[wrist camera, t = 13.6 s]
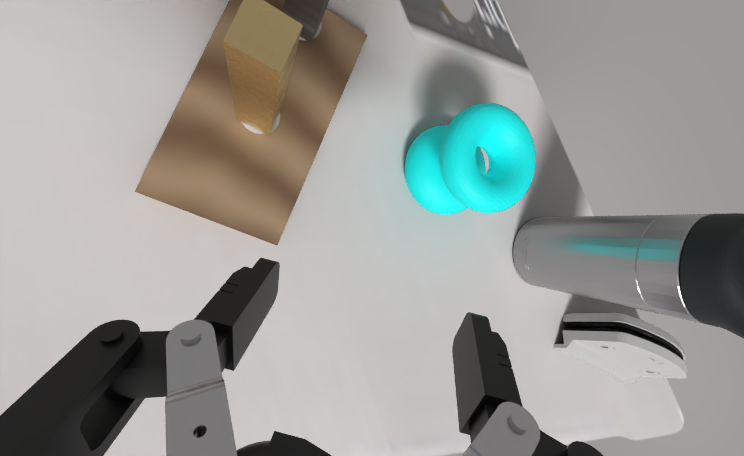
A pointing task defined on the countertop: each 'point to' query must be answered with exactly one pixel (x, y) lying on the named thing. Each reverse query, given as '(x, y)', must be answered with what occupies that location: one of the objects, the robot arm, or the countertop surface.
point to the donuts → (472, 162)
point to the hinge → (622, 346)
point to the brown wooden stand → (253, 129)
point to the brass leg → (260, 61)
